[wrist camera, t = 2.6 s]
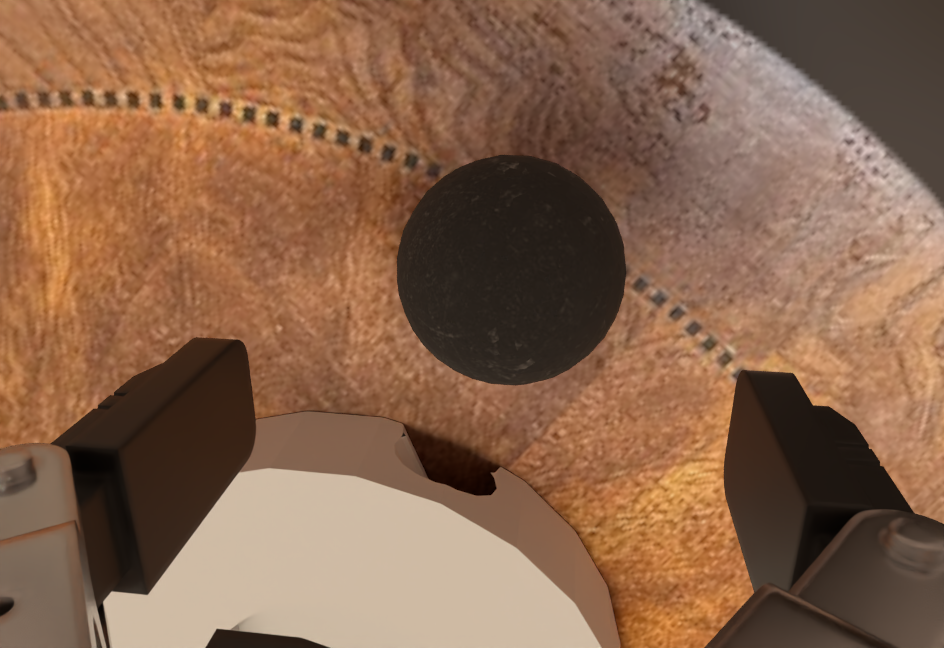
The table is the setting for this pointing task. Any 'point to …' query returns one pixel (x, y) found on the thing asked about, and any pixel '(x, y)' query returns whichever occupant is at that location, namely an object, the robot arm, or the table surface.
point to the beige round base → (370, 554)
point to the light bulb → (511, 270)
